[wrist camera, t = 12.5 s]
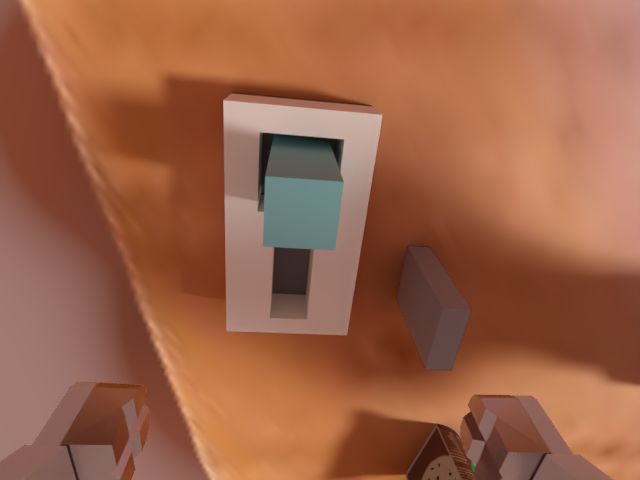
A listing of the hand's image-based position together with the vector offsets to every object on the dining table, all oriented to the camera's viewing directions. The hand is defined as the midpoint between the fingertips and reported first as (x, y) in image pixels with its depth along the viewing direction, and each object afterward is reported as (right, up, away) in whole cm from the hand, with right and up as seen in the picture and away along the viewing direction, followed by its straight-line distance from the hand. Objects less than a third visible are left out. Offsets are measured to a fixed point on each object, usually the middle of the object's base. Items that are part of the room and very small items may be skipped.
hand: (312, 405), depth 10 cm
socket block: (-2, +6, +22) cm, 23 cm away
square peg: (-1, +10, +20) cm, 22 cm away
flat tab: (+9, +1, +26) cm, 27 cm away
